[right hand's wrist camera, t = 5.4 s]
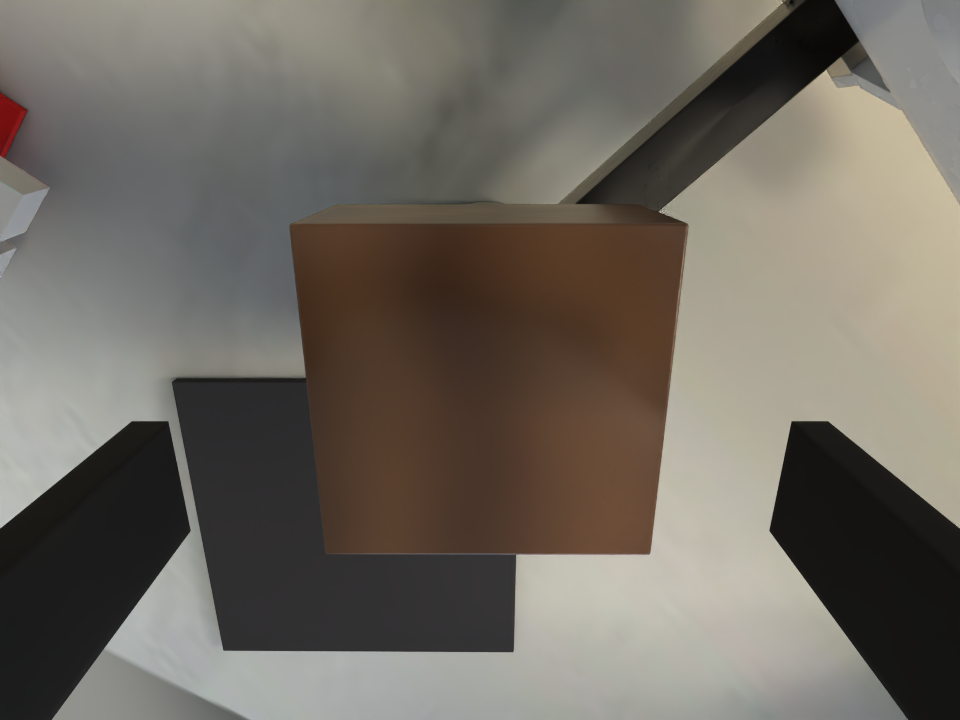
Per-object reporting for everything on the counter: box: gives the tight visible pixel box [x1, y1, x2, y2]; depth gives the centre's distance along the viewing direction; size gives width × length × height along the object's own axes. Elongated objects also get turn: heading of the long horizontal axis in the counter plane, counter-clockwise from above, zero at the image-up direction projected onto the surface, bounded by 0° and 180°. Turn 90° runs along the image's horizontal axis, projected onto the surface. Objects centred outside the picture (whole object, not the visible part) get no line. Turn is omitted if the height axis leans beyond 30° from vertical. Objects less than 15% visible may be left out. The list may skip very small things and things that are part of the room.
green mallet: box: [469, 0, 859, 212], centre depth 25 cm, size 25×8×12 cm, turn 132°
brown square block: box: [289, 204, 688, 555], centre depth 19 cm, size 10×10×5 cm
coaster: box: [172, 379, 516, 652], centre depth 38 cm, size 20×20×1 cm
